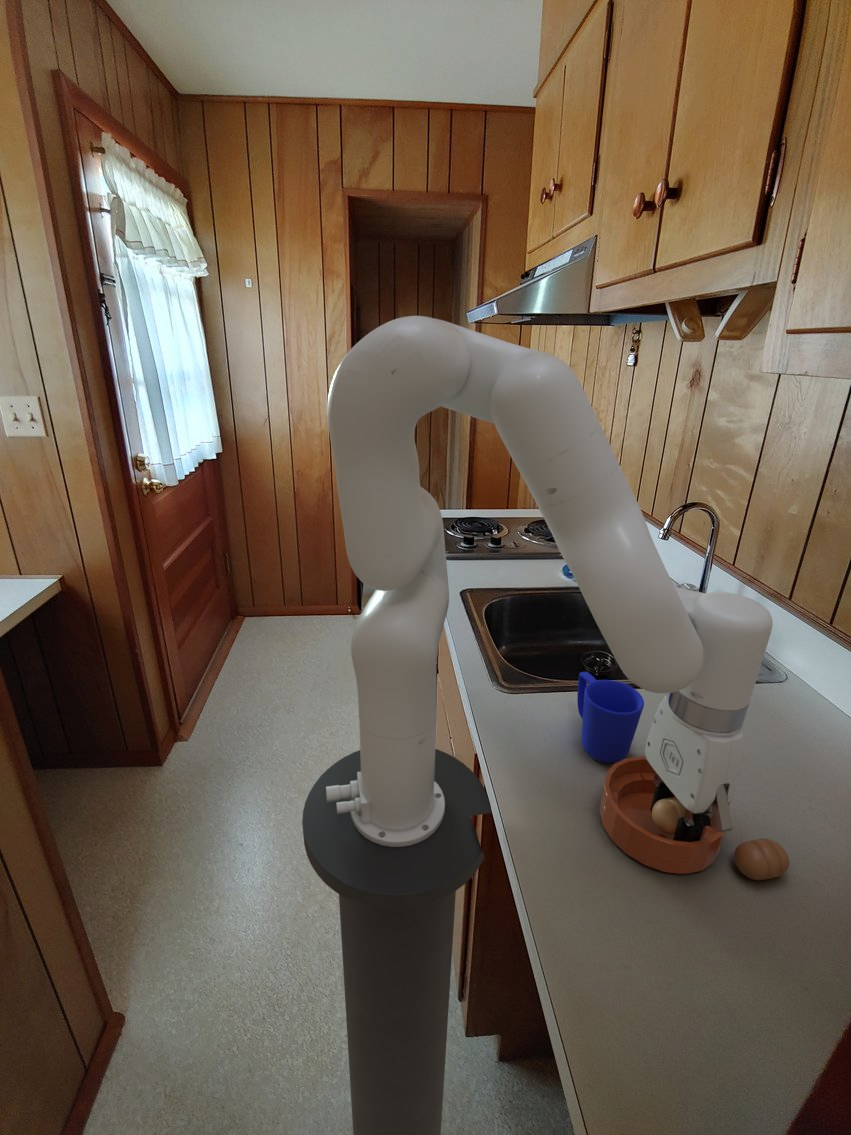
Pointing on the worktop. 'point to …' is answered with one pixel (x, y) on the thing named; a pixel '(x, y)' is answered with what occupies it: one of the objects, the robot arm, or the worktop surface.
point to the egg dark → (761, 859)
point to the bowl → (649, 822)
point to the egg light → (667, 814)
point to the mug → (608, 717)
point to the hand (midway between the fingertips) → (674, 825)
